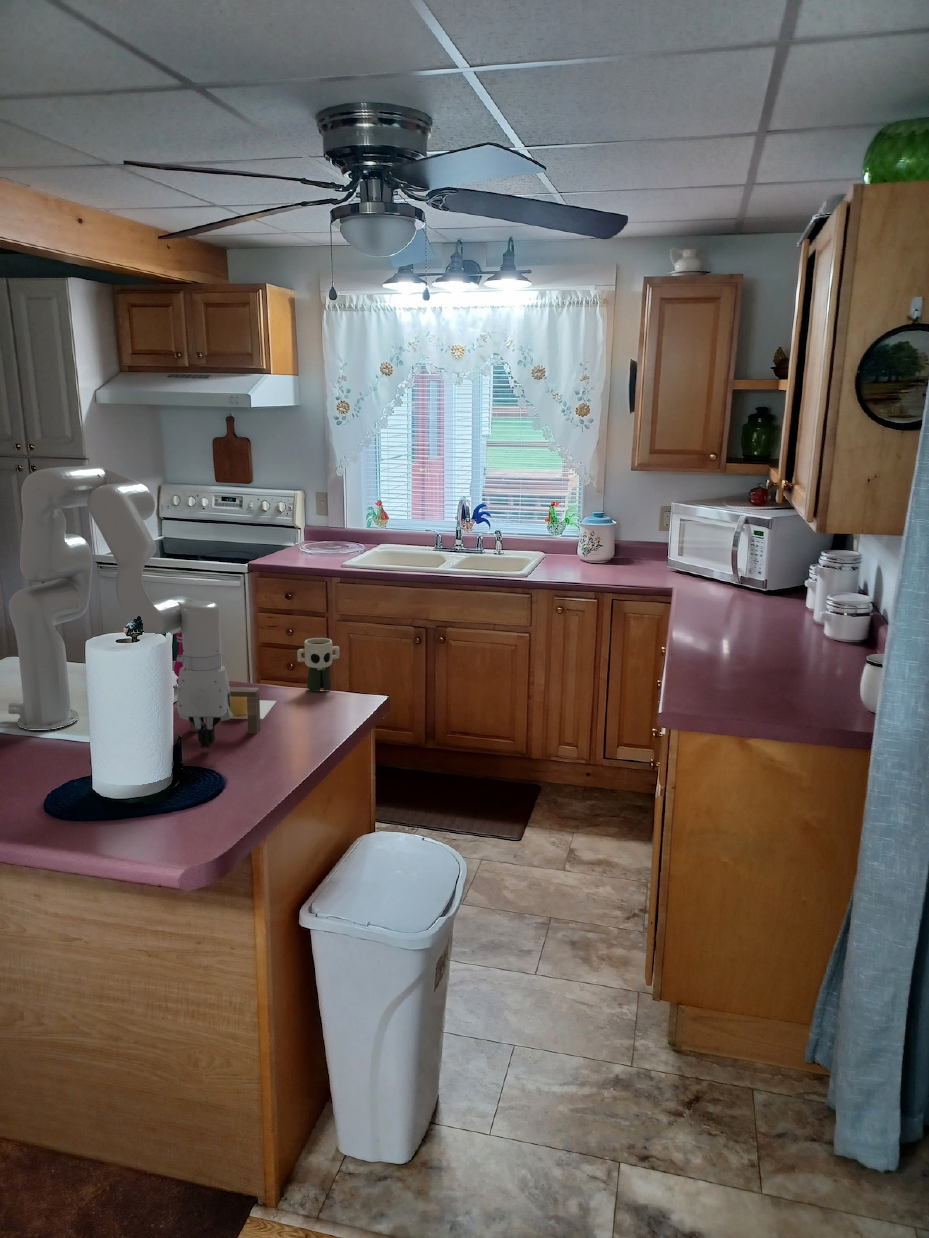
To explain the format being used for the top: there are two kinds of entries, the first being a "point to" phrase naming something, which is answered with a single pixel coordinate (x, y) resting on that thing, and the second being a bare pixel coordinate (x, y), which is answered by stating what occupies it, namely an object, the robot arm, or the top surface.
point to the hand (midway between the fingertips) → (206, 745)
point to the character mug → (318, 662)
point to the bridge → (252, 707)
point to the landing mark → (264, 709)
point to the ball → (238, 706)
